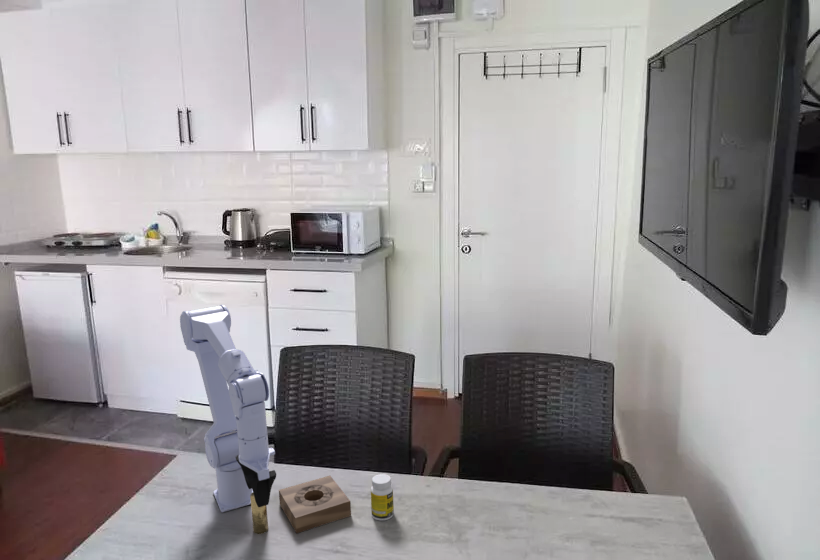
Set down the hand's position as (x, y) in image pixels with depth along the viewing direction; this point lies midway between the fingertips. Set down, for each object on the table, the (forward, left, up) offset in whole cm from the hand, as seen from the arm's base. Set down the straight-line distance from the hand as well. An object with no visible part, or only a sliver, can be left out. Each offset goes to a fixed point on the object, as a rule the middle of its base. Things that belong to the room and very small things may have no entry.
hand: (258, 496), depth 122 cm
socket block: (-1, +12, -8) cm, 14 cm away
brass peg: (0, 0, -8) cm, 8 cm away
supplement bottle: (+8, +24, -8) cm, 26 cm away
